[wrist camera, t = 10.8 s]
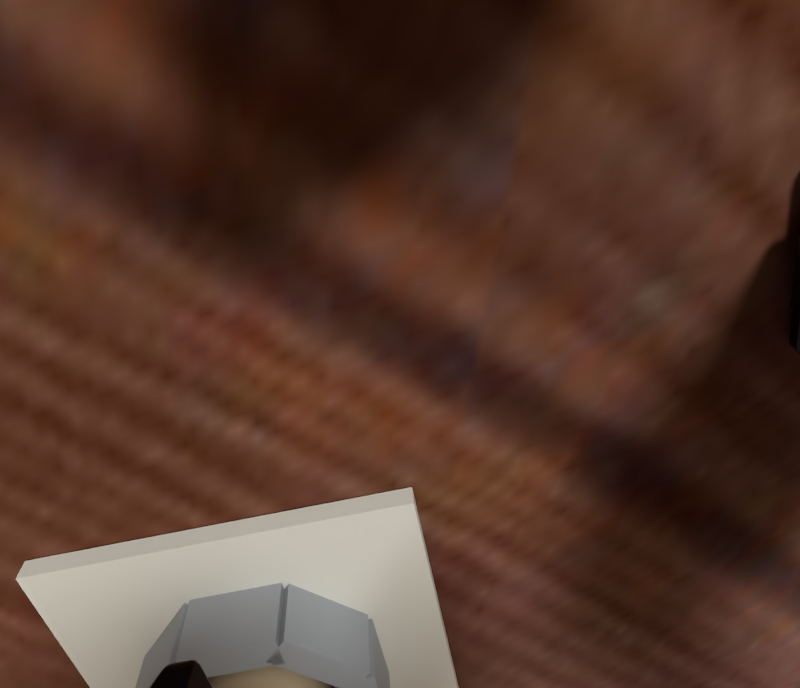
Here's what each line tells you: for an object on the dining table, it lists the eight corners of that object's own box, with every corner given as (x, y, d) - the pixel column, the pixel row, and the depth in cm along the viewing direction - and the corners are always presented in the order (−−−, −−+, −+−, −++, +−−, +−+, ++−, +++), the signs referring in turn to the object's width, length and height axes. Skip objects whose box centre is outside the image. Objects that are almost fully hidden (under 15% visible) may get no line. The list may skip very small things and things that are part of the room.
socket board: (411, 487, 23) (420, 556, 21) (466, 718, 30) (478, 794, 28) (25, 561, 24) (-18, 639, 21) (165, 772, 31) (147, 853, 28)
